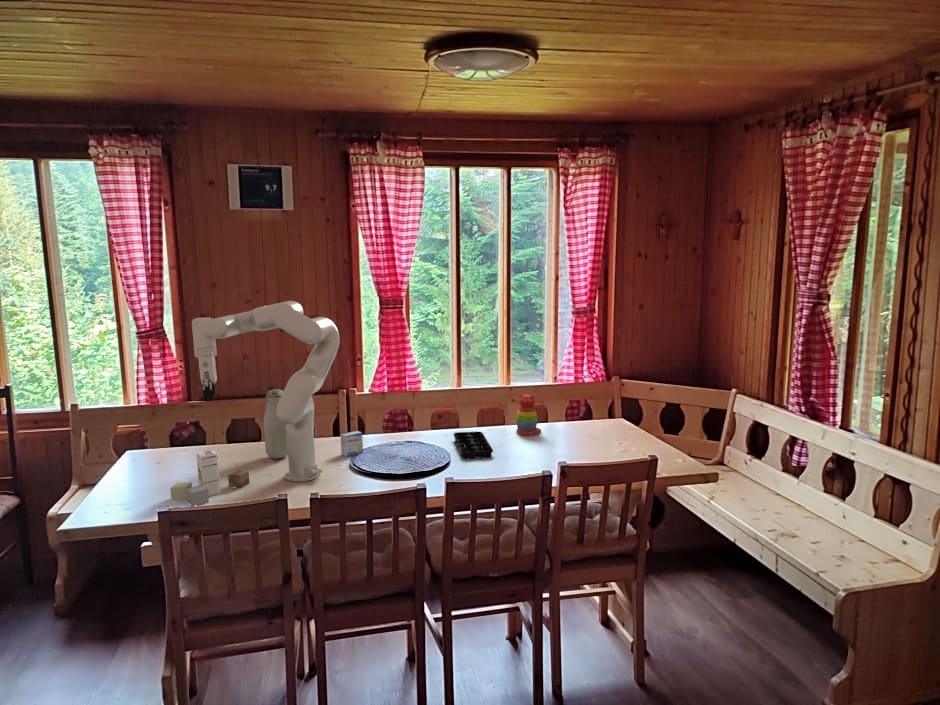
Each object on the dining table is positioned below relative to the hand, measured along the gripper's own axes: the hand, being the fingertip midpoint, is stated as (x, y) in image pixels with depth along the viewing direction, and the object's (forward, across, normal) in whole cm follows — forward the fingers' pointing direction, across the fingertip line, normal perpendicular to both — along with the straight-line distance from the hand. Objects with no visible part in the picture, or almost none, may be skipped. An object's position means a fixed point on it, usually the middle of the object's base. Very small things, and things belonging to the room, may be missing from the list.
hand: (209, 397), depth 245 cm
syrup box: (+30, -20, +1) cm, 36 cm away
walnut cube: (+30, -15, -8) cm, 34 cm away
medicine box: (+30, +9, -51) cm, 60 cm away
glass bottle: (+30, +14, -22) cm, 40 cm away
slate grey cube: (+30, -28, +4) cm, 41 cm away
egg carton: (+31, -1, -100) cm, 104 cm away
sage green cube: (+30, -22, +10) cm, 38 cm away
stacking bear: (+31, +13, -129) cm, 134 cm away
